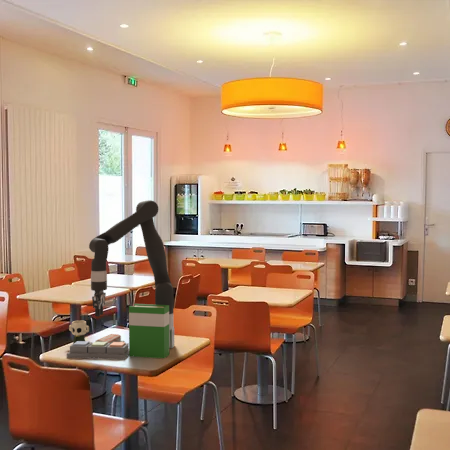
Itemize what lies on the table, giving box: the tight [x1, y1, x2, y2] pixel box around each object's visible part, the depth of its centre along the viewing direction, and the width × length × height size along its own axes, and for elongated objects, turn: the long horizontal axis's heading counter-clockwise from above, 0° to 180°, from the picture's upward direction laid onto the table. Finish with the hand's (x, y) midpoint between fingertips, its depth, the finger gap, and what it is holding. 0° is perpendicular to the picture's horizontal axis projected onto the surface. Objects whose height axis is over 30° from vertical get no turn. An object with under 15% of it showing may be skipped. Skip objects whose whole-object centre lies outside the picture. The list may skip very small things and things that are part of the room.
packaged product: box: [94, 333, 126, 344], centre depth 302 cm, size 18×5×10 cm
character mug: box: [68, 320, 90, 344], centre depth 298 cm, size 11×7×13 cm, turn 75°
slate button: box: [72, 340, 90, 346], centre depth 284 cm, size 6×6×2 cm
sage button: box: [91, 341, 107, 347], centre depth 283 cm, size 6×6×2 cm
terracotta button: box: [110, 341, 126, 347], centre depth 282 cm, size 6×6×2 cm
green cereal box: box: [128, 303, 170, 359], centre depth 282 cm, size 18×7×24 cm, turn 77°
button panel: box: [66, 341, 129, 360], centre depth 283 cm, size 28×12×5 cm, turn 85°
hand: (99, 315), depth 282 cm, fingers open, 4 cm apart
